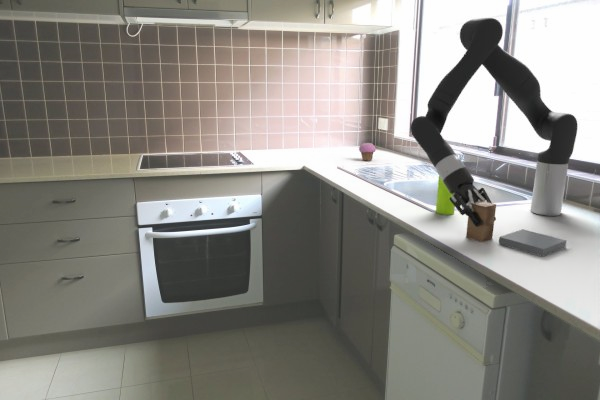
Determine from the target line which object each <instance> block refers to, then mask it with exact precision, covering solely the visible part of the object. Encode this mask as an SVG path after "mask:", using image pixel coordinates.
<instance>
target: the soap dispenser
mask: <svg viewBox="0 0 600 400" xmlns="http://www.w3.org/2000/svg"><path fill="white" fill-rule="evenodd" d="M437 184H438V185H437V194H436V204H435V205H436V207H435V212H436V213H437V214H439V215H449V216H450V215H454V214H455V209H456V207H455V206H454V205H453V203H452V202H451V201H450V199H449V198H450V197H451V196H453V195H454V194H451V193H450V192H449V190H448V189H447V187H446V186H445V184H444V183H443V181H442V179H441V178H440V176H439V175H438V181H437Z"/></svg>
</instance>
